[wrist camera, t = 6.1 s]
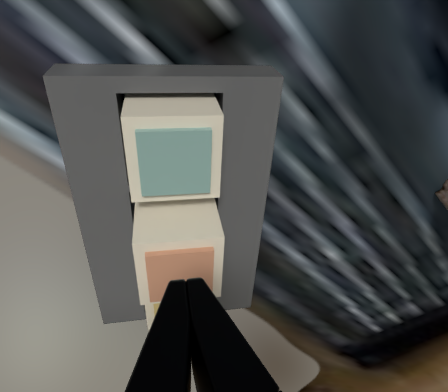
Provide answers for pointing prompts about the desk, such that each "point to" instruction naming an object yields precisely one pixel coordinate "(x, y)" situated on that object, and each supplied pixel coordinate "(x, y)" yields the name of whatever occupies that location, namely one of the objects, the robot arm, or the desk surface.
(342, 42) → the desk surface
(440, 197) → the geological specimen
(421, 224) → the desk surface
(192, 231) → the key
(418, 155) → the desk surface
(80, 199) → the keypad base
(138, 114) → the key
